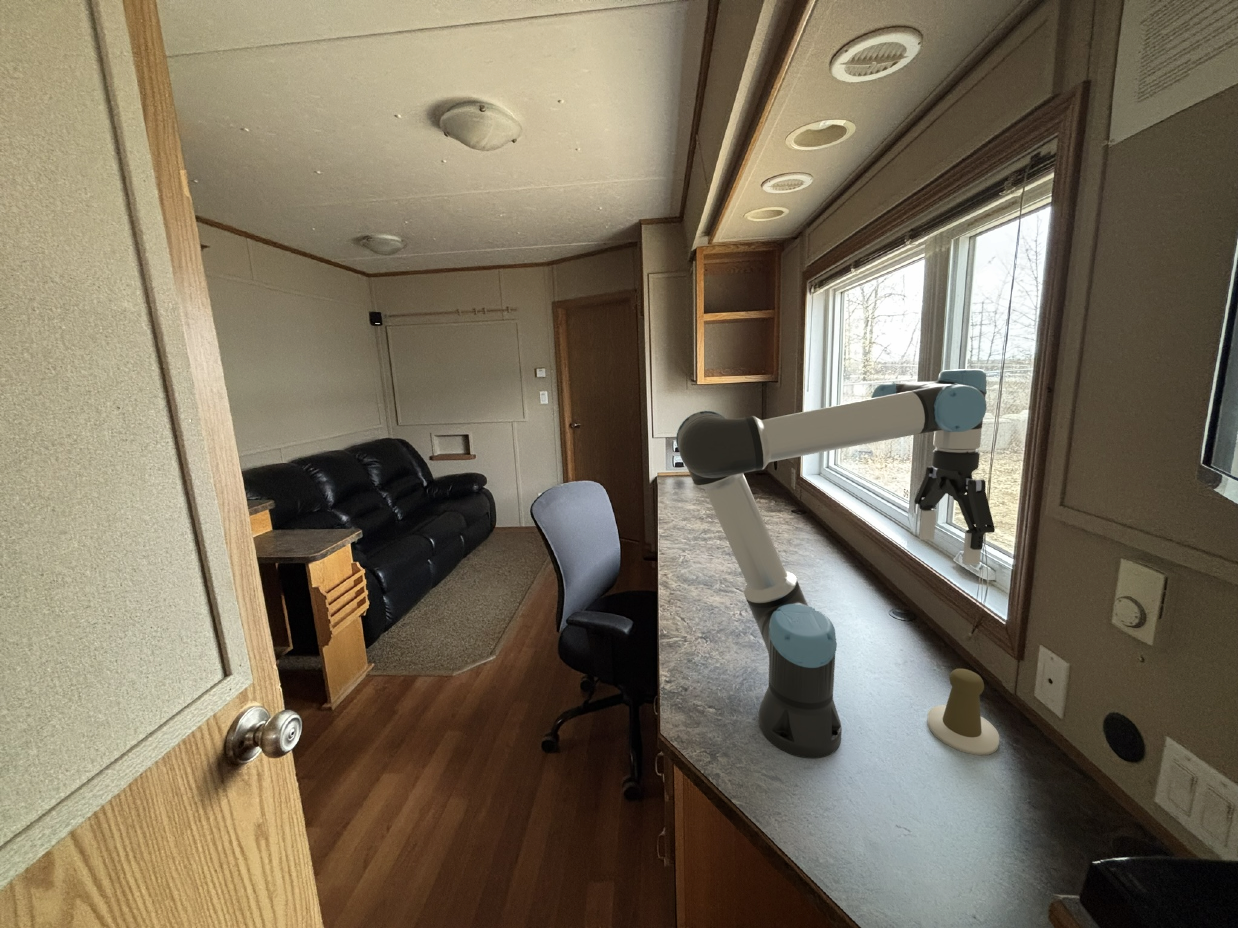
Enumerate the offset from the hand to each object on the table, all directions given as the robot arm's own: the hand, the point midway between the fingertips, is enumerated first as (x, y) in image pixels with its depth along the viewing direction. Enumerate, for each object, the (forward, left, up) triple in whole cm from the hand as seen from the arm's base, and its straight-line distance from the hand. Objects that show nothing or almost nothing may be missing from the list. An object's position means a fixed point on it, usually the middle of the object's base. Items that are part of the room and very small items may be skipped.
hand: (947, 550), depth 96 cm
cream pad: (-4, -13, -31) cm, 34 cm away
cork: (-4, -13, -30) cm, 33 cm away
